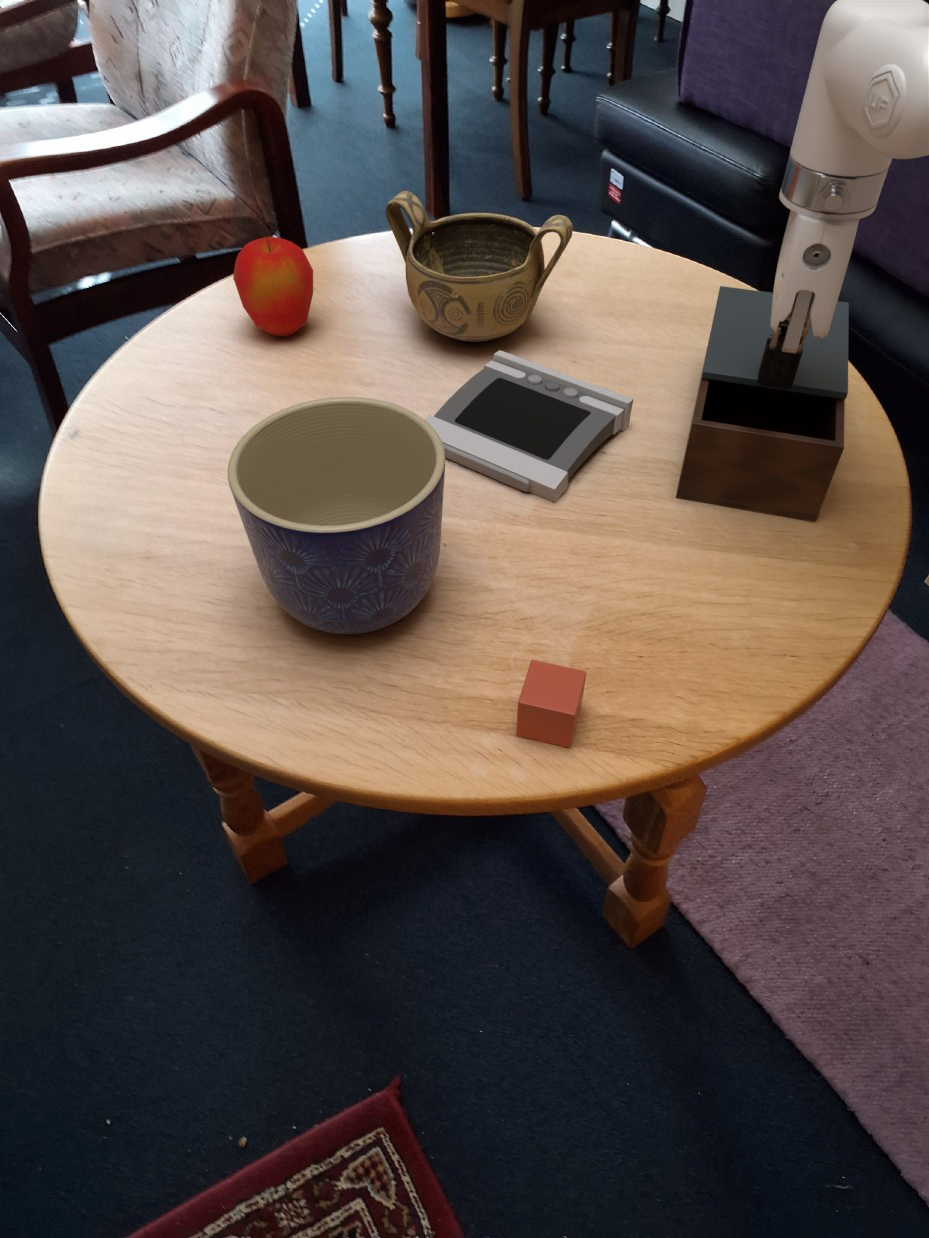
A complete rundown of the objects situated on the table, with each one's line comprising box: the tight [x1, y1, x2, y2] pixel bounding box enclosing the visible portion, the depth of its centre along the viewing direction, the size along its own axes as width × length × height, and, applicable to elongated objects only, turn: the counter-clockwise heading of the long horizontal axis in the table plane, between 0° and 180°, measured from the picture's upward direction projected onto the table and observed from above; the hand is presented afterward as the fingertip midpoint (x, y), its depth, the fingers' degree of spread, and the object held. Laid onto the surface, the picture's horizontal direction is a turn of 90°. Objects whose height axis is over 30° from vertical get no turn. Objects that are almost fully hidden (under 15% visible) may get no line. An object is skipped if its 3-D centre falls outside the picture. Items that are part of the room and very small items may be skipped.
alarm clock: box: [424, 349, 634, 503], centre depth 95 cm, size 17×5×16 cm
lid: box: [700, 285, 850, 400], centre depth 90 cm, size 14×18×4 cm
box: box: [675, 331, 846, 523], centre depth 91 cm, size 14×18×9 cm
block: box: [515, 659, 587, 749], centre depth 70 cm, size 4×4×4 cm
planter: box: [227, 396, 446, 635], centre depth 76 cm, size 17×17×15 cm
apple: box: [232, 236, 314, 337], centre depth 107 cm, size 9×9×12 cm
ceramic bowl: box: [385, 190, 574, 343], centre depth 106 cm, size 22×17×15 cm
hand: (774, 381), depth 85 cm, fingers closed
